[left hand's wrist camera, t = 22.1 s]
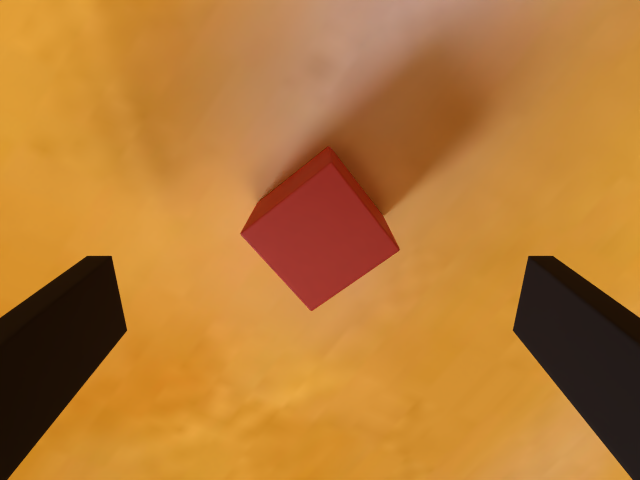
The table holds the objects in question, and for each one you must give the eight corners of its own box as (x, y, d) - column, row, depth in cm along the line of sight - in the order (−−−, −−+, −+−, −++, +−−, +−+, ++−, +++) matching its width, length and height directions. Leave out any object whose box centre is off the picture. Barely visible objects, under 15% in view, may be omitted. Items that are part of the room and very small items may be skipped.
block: (328, 145, 20) (331, 161, 15) (383, 216, 21) (400, 250, 17) (256, 203, 21) (239, 234, 17) (313, 268, 22) (311, 312, 18)
